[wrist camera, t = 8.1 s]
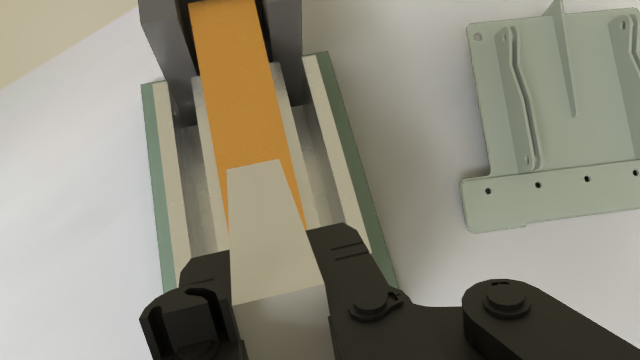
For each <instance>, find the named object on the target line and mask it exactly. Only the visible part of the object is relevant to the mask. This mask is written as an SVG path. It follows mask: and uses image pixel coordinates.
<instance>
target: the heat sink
mask: <svg viewBox="0 0 640 360" xmlns="http://www.w3.org/2000/svg"><path fill="white" fill-rule="evenodd" d="M301 60H302V105H300V106H295V107H291V106H290V102H289V98H288V94H287V90H286V86H285V82H284V78H283V74H282V70H281V66H280V62H279V61H278V62H273V63H269V66H270V70H271V74H272V79H273V83H274V87H275V92H276V96H277V100H278V105H279V109H280V113H281V118H282V122H283V126H284V131H285V135H286V139H287V143H288V148H289V152H290V156H291V161H292V165H293V169H294V174H295V178H296V182H297V187H298V191H299V195H300V200H301V204H302V208H303V212H304V217H305V221H306V225H307V230H310V229H315V228H319V227H324V226H328V225H332V224H337V223H341V222H343V223H345V224H347V225H349V226H350V227H352V228H354V229H356V230H357V231H358V233H359V235H360V236H361V238H362V240H363V242H364V244H365V245H366V247H367V248H368V250H369V253H371V254H372V251H371V247H370V244H369V240H368V237H367V233H366V230H365V226H364V223H363V219H362V216H361V212H360V209H359V205H358V202H357V198H356V195H355V191H354V188H353V184H352V181H351V177H350V174H349V171H348V167H347V164H346V160H345V157H344V153H343V150H342V146H341V143H340V139H339V136H338V132H337V129H336V125H335V122H334V118H333V115H332V111H331V108H330V104H329V101H328V97H327V94H326V90H325V87H324V83H323V80H322V76H321V73H320V69H319V66H318V62H317V59H316V55H312V56H306V57H301ZM191 83H192V89H193V96H194V102H195V108H196V115H197V121H198V125H195V126H190V127H187V124H186V122H185V120H184V118H183V115H182V113H181V111H180V109H179V106H178V104H177V102H176V100H175V98H174V95H173V93H172V91H171V89H170V86H169V84H168V82H161V83H155V84H152V86H153V94H154V102H155V110H156V119H157V127H158V135H159V143H160V152H161V160H162V168H163V177H164V185H165V193H166V201H167V210H168V218H169V226H170V234H171V243H172V251H173V259H174V268H175V276H176V284H177V288H178V287H179V279H180V272H181V271H182V269H183V268H184V267H185V266H186V264H187V263H188V262H189V260H190V259H191V258H194V257H198V256H203V255H207V254H211V253H216V252H220V251H225V250H229V249H230V245H229V234H228V229H227V223H226V217H225V212H224V206H223V200H222V195H221V189H220V183H219V178H218V172H217V166H216V161H215V155H214V150H213V144H212V138H211V133H210V127H209V121H208V116H207V110H206V104H205V99H204V93H203V87H202V82H201V76H195V77H191Z"/></svg>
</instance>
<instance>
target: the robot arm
mask: <svg viewBox="0 0 640 360" xmlns="http://www.w3.org/2000/svg"><path fill="white" fill-rule="evenodd" d="M226 172H227V196H228V221H229V245H230V249H229V250H225V251H220V252H216V253H211V254H207V255H203V256H198V257H194V258H191V259H190V260H189V262H188V263H187V264H186V266H185V267H184V268H183V269H182V271H181V272H180V279H179V287H178V288H175V289H172V290H170V291H168V292H166V293H164V294H163V295H161V296H159V297H157V298H156V299H155V300H153V301H152V302H151V303H150V304H149V305H148V306H147V307H146V308H145V309H144V311H143V313H142V314H141V316H140V318H139V321H140V324H141V327H142V329H143V332H144V335H145V338H146V341H147V344H148V346H149V349H150V352H151V355H152V358H153V360H640V349H638V348H637V347H635V346H633V345H632V344H630V343H628V342H627V341H625V340H623V339H622V338H620V337H618V336H617V335H615V334H613V333H612V332H610V331H608V330H607V329H605V328H603V327H602V326H600V325H598V324H597V323H595V322H593V321H592V320H590V319H588V318H587V317H585V316H583V315H582V314H580V313H578V312H577V311H575V310H573V309H572V308H570V307H568V306H567V305H565V304H563V303H562V302H560V301H558V300H557V299H555V298H553V297H552V296H550V295H548V294H547V293H545V292H543V291H542V290H540V289H538V288H536V287H534V286H532V285H529V284H527V283H525V282H521V281H516V280H510V279H490V280H487V281H483V282H479V283H476V284H475V285H473V286H472V287H470V288H469V289H467V290H466V292H465V294H464V296H463V298H462V307H425V306H421V305H416V304H413V303H412V302H411V300H410V298H409V297H408V296H407V295H406V294H405V293H404V292H403V291H401V290H399V289H397V288H394V287H392V286H389V284H388V282H387V281H386V279H385V277H384V276H383V274H382V272H381V270H380V269H379V267H378V265H377V264H376V262H375V260H374V258H373V257H372V255H371V253H369V250H368V248H367V247H366V245H365V244H364V242H363V240H362V238H361V236H360V235H359V233H358V231H357V230H356V229H354V228H352V227H350V226H349V225H347V224H345V223H343V222H341V223H337V224H332V225H328V226H324V227H319V228H315V229H310V230H306V231H305V229H304V226H303V223H302V221H301V218H300V215H299V212H298V210H297V207H296V204H295V201H294V199H293V196H292V193H291V191H290V188H289V185H288V182H287V180H286V177H285V174H284V171H283V169H282V166H281V163H280V160H279V159H275V160H271V161H266V162H261V163H256V164H251V165H246V166H242V167H237V168H232V169H227V170H226Z"/></svg>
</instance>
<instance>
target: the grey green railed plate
mask: <svg viewBox="0 0 640 360" xmlns="http://www.w3.org/2000/svg"><path fill="white" fill-rule="evenodd" d="M312 55H316V59H317V62H318V66H319V69H320V73H321V76H322V80H323V83H324V87H325V90H326V94H327V97H328V101H329V104H330V108H331V111H332V115H333V118H334V122H335V125H336V129H337V132H338V136H339V139H340V143H341V146H342V150H343V153H344V157H345V160H346V164H347V167H348V171H349V174H350V177H351V181H352V184H353V188H354V191H355V195H356V198H357V202H358V205H359V209H360V212H361V216H362V219H363V223H364V226H365V230H366V233H367V237H368V240H369V244H370V247H371V251H372V254H371V255H372V257H373V258H374V260H375V262H376V264H377V265H378V267H379V269H380V270H381V272H382V274H383V276H384V277H385V279H386V281H387V282H388V284H389V286H392V287H394V288H397V289H399V287H398V284H397V281H396V277H395V274H394V271H393V267H392V264H391V261H390V257H389V254H388V251H387V247H386V244H385V241H384V237H383V234H382V231H381V227H380V224H379V221H378V217H377V214H376V211H375V207H374V204H373V201H372V197H371V194H370V191H369V187H368V184H367V181H366V177H365V174H364V171H363V167H362V164H361V161H360V157H359V154H358V151H357V147H356V144H355V140H354V137H353V134H352V130H351V127H350V124H349V120H348V117H347V114H346V110H345V107H344V104H343V100H342V97H341V94H340V90H339V87H338V84H337V80H336V77H335V74H334V70H333V67H332V64H331V60H330V57H329V54H328V51H326V52H320V53H314V54H309V55H303V56H302V57H306V56H312ZM161 82H167V81H166V80H163V81H158V82H152V83H146V84H141V93H142V102H143V111H144V120H145V129H146V138H147V147H148V157H149V166H150V175H151V184H152V193H153V202H154V211H155V220H156V230H157V239H158V248H159V257H160V266H161V275H162V284H163V293H166V292H168V291H170V290H172V289H175V288H177V284H176V276H175V268H174V259H173V251H172V243H171V234H170V226H169V218H168V210H167V201H166V193H165V185H164V177H163V168H162V160H161V152H160V143H159V135H158V127H157V119H156V110H155V102H154V94H153V86H152V84H155V83H161Z"/></svg>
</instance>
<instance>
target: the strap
mask: <svg viewBox="0 0 640 360" xmlns="http://www.w3.org/2000/svg"><path fill="white" fill-rule="evenodd" d="M188 8H189V14H190V19H191V25H192V31H193V36H194V42H195V48H196V53H197V59H198V65H199V70H200V76H201V82H202V87H203V93H204V99H205V104H206V110H207V116H208V121H209V127H210V133H211V138H212V144H213V150H214V155H215V161H216V166H217V172H218V178H219V183H220V189H221V195H222V200H223V206H224V212H225V217H226V223H227V229H228V234H229V221H228V196H227V172H226V170H227V169H232V168H237V167H242V166H246V165H251V164H256V163H261V162H266V161H271V160H275V159H279V160H280V163H281V166H282V169H283V171H284V174H285V177H286V180H287V182H288V185H289V188H290V191H291V193H292V196H293V199H294V201H295V204H296V207H297V210H298V212H299V215H300V218H301V221H302V223H303V226H304V229H305V231H306V230H307V225H306V221H305V217H304V212H303V208H302V204H301V200H300V195H299V191H298V187H297V182H296V178H295V174H294V169H293V165H292V161H291V156H290V152H289V148H288V143H287V139H286V135H285V131H284V126H283V122H282V118H281V113H280V109H279V105H278V100H277V96H276V92H275V87H274V83H273V79H272V74H271V70H270V66H269V62H268V57H267V53H266V49H265V44H264V40H263V36H262V31H261V27H260V23H259V18H258V14H257V10H256V5H255V1H254V0H206V1H200V2H194V3H188Z"/></svg>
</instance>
